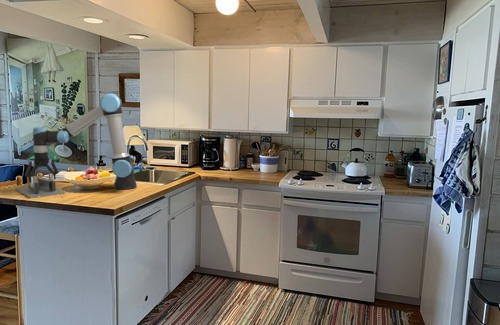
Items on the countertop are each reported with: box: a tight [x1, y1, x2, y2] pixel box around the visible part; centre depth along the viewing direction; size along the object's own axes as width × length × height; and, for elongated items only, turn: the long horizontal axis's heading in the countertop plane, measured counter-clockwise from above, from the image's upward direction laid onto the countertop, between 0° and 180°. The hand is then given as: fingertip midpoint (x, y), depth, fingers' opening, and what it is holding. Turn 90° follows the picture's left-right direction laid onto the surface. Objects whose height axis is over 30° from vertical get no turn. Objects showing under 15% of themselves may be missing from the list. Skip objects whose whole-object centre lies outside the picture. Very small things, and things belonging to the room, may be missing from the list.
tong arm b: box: [33, 178, 39, 193], centre depth 227 cm, size 19×2×6 cm, turn 37°
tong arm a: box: [37, 177, 57, 191], centre depth 232 cm, size 19×2×6 cm, turn 57°
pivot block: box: [26, 175, 42, 188], centre depth 238 cm, size 5×7×8 cm
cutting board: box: [15, 186, 66, 199], centre depth 231 cm, size 30×20×1 cm, turn 47°
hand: (42, 186), depth 227 cm, fingers open, 11 cm apart
